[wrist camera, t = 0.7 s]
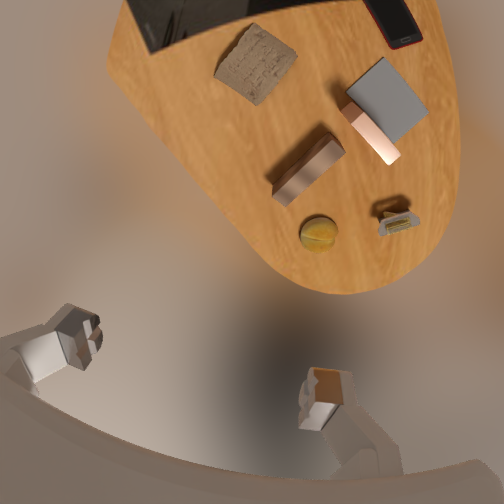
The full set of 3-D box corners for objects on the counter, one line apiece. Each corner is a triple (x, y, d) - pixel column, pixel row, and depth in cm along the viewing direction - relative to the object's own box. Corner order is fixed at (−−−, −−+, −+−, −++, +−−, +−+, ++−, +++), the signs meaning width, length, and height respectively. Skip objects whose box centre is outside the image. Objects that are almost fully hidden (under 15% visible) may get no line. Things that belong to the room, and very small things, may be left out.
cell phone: (390, 51, 37) (392, 51, 36) (350, -17, 29) (351, -18, 28) (422, 40, 34) (425, 40, 33) (385, -26, 26) (386, -27, 25)
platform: (350, 199, 59) (356, 217, 54) (424, 178, 52) (436, 193, 47) (361, 240, 65) (367, 259, 60) (428, 220, 59) (438, 237, 54)
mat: (383, 57, 38) (384, 57, 37) (428, 112, 43) (429, 112, 42) (345, 91, 43) (345, 92, 43) (392, 143, 48) (393, 143, 48)
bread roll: (340, 218, 62) (343, 229, 59) (329, 248, 68) (331, 260, 65) (305, 212, 62) (306, 222, 59) (296, 243, 68) (297, 254, 65)
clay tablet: (255, 20, 37) (254, 18, 35) (303, 51, 40) (304, 51, 38) (210, 81, 45) (207, 83, 43) (256, 109, 48) (255, 112, 46)
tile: (351, 101, 44) (364, 111, 38) (385, 137, 48) (401, 154, 41) (340, 111, 46) (350, 124, 39) (374, 147, 50) (388, 165, 43)
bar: (328, 131, 49) (332, 139, 45) (340, 143, 50) (345, 152, 47) (272, 184, 58) (271, 196, 54) (285, 194, 59) (285, 207, 56)
